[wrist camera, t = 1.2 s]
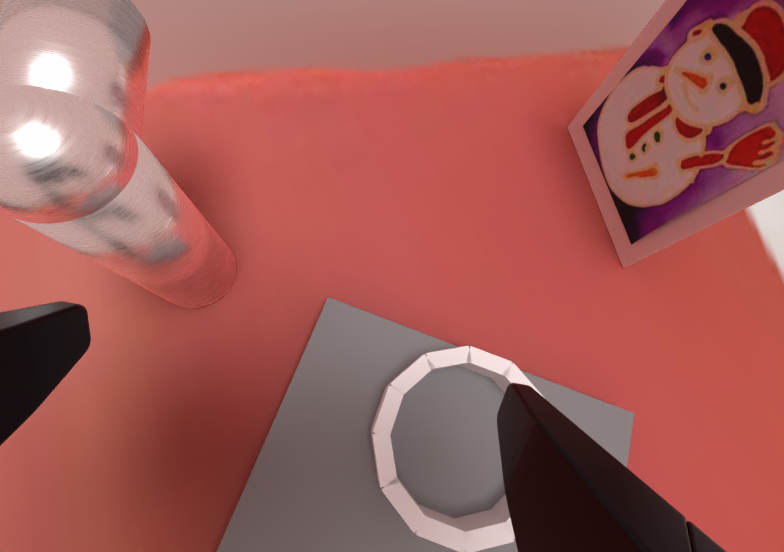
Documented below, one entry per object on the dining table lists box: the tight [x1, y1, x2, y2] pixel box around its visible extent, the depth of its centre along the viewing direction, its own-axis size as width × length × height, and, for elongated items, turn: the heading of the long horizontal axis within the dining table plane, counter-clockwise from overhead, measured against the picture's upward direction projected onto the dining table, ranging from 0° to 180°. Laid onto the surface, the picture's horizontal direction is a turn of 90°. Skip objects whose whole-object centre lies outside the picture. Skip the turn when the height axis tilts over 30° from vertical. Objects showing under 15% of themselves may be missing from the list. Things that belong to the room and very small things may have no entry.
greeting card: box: [567, 0, 784, 268], centre depth 20 cm, size 11×7×15 cm, turn 11°
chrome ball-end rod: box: [0, 0, 237, 308], centre depth 17 cm, size 8×4×13 cm, turn 6°
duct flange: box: [217, 297, 634, 552], centre depth 18 cm, size 19×18×4 cm
